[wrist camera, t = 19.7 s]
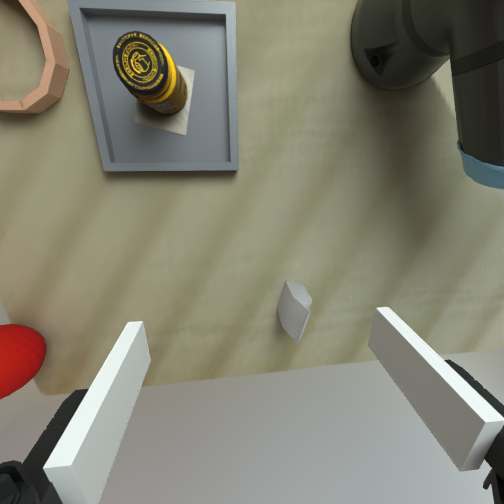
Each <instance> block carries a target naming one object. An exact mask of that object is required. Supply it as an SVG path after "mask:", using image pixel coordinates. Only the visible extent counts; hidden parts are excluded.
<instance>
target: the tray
mask: <svg viewBox="0 0 504 504" xmlns="http://www.w3.org/2000/svg"><path fill="white" fill-rule="evenodd" d="M67 2H68V7H69V11H70V16H71V21H72V25H73V30H74V35H75V39H76V44H77V49H78V53H79V58H80V63H81V67H82V72H83V77H84V81H85V86H86V91H87V95H88V100H89V105H90V109H91V114H92V119H93V123H94V128H95V133H96V137H97V142H98V147H99V151H100V156H101V160H102V165H103V170H104V171H198V170H239V161H238V114H237V67H236V19H235V2H221V1H201V0H67ZM132 31H140V32H143V33H146V34H149V35H150V36H151V37H152V38H153V39H155V40H156V41H157V42H158V43H160V44H161V45H162V46H163V47H164V48H165V49H166V50H167V51H168V52H169V54H170V55H171V57H172V58H173V60H174V62H175V64H176V65H178V66H181V67H185V68H188V69H191V70H195V72H194V80H193V88H192V95H191V103H190V109H189V117H188V124H187V131H186V135H182V134H178V133H174V132H171V131H166V130H163V129H159V128H155V127H152V126H148V125H144V124H140V123H136V122H135V114H136V102H137V98H135V97H134V96H133V95H132V94H131V93H130V92H129V91H128V89H127V88H126V87H125V86H124V85H123V83H122V82H121V81H120V79H119V77H118V76H117V74H116V71H115V70H114V65H113V48H114V46H115V44H116V42H117V40H118V38H119V37H121V36H122V35H123V34H125V33H127V32H132ZM175 115H176V114H175ZM172 118H173V117H172Z"/></svg>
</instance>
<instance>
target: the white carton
mask: <svg viewBox="0 0 504 504" xmlns="http://www.w3.org/2000/svg"><path fill="white" fill-rule="evenodd" d="M311 302H312V299H311V297H310V295H309V294H308V292H307V290H306V288H305V287H304V285H303V284H301V283H295V282H289V281H286V282H285V285H284V288H283V291H282V294H281V297H280V301H279V304H278V307H277V311H278V314H279V318H280V321H281V324H282V327H283V328H284V329H285V331H286V332H287V333H288V334H289V335H290V336H291V337H292V338H293V339H294V341H295V342H296V343H298V342H299V343H300V340H301V337H302V335H303V332H304V329H305V327H306V324H307V321H308V319H309V316H310V313H311V310H310V307H311Z"/></svg>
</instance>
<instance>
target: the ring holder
mask: <svg viewBox="0 0 504 504" xmlns="http://www.w3.org/2000/svg"><path fill="white" fill-rule="evenodd" d="M19 2H20V3H21V4H22V6H23V7H24V8H25V10H26V11H27V13H28V14H29V15H30V17H31V18H32V19H33V21H34V22H35V23H36V25H37V26H38V30H39V34H40V38H41V42H42V46H43V49H44V53H45V57H46V63H45V67H44V71H43V75H42V79H41V82H40V86H39V87H38V88H37V89H36V90H34V91H33V92H32V93H30V94H29V95H28V96H26V97H25V98H24V99H22V100H21V101H2V100H0V111H2V112H8V113H42V112H43V111H45V110H46V109H47V108H49V107H50V106H51V105H53V104H54V103H55V102H57V101H58V100H60V99H61V98H62V94H63V91H64V87H65V84H66V80H67V77H68V73H69V66H68V62H67V58H66V53H65V49H64V45H63V40H62V36H61V34H60V32H59V31H58V30H57V28H56V27H55V25H54V24H53V22H52V21H51V20H50V18H49V17H48V15H47V14H46V13H45V11H44V10H43V8H42V7H41V5H40V4H39V3H38V1H37V0H19Z"/></svg>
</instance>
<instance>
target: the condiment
mask: <svg viewBox="0 0 504 504" xmlns="http://www.w3.org/2000/svg"><path fill="white" fill-rule="evenodd" d="M113 65H114V70H115V71H116V74H117V76H118V77H119V79H120V81H121V82H122V83H123V85H124V86H125V87H126V88H127V89H128V91H129V92H130V93H131V94H132V95H133V96H134V97H135V98H137V102H136V114H135V122H136V123H140V124H144V125H148V126H152V127H155V128H159V129H163V130H166V131H171V132H174V133H178V134H182V135H186V131H187V124H188V117H189V109H190V103H191V95H192V88H193V80H194V72H195V70H191V69H188V68H185V67H181V66H178V65H176V64H175V62H174V60H173V58H172V57H171V55H170V54H169V52H168V51H167V50H166V49H165V48H164V47H163V46H162V45H161V44H160V43H158V42H157V41H156V40H155V39H153V38H152V37H151V36H150V35H149V34H146V33H143V32H140V31H132V32H127V33H125V34H123V35H122V36H121V37H119V38H118V40H117V42H116V44H115V46H114V48H113ZM175 114H176V115H175ZM172 117H173V118H172Z"/></svg>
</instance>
